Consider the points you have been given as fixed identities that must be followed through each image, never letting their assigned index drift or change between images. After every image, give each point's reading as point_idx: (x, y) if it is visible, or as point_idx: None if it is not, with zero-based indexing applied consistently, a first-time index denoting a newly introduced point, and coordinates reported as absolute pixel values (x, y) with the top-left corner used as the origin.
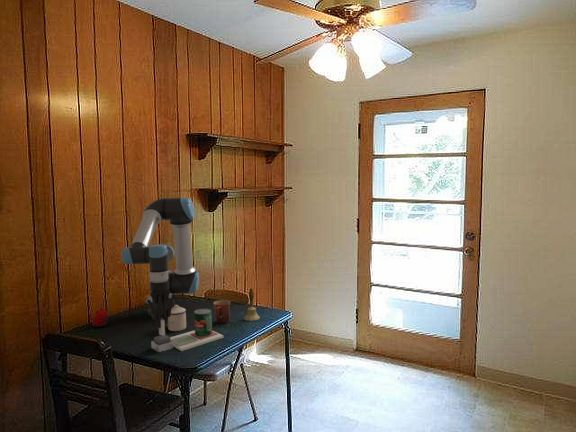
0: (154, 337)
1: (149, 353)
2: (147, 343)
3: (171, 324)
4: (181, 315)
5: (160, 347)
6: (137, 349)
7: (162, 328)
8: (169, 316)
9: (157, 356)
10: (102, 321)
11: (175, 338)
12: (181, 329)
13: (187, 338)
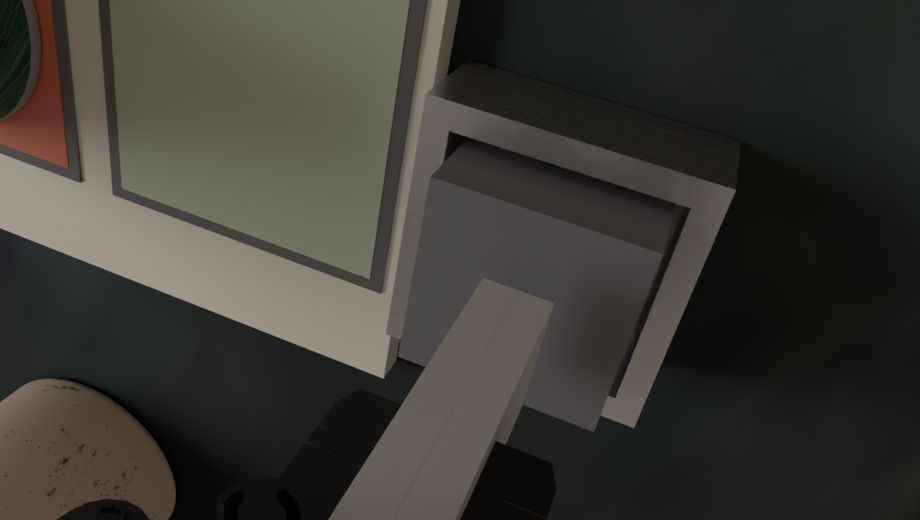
0: (593, 427)
1: (830, 261)
2: None
3: None
4: None
5: (699, 162)
6: (772, 500)
7: (484, 390)
8: (112, 509)
9: (897, 35)
10: None
11: (275, 254)
12: (83, 390)
13: (166, 93)
